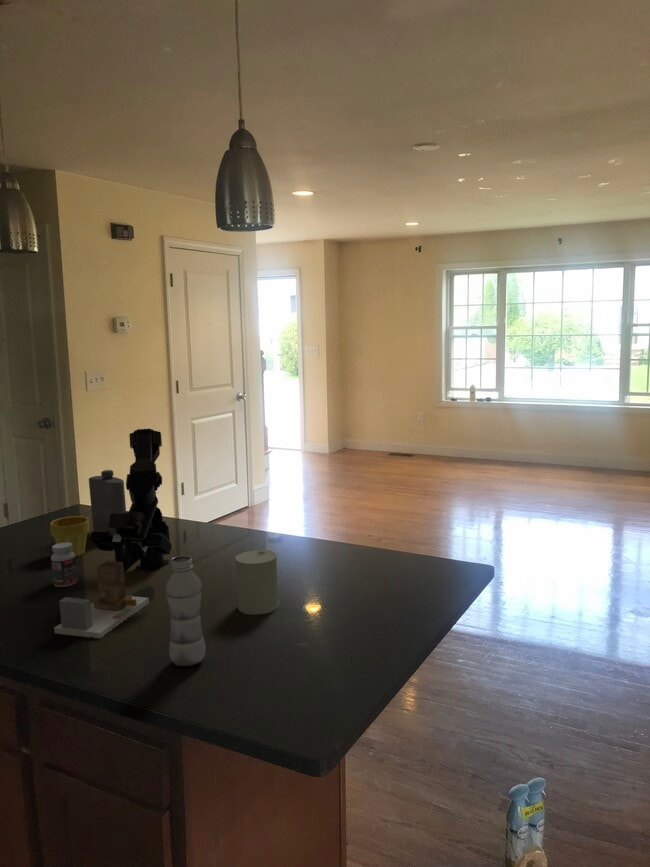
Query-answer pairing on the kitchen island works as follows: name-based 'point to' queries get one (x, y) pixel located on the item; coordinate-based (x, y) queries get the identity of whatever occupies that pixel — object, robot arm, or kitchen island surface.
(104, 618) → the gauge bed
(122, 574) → the gauge slider
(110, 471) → the flask
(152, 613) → the kitchen island surface
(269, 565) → the can
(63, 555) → the pill bottle
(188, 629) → the plastic bottle
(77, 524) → the plant pot
